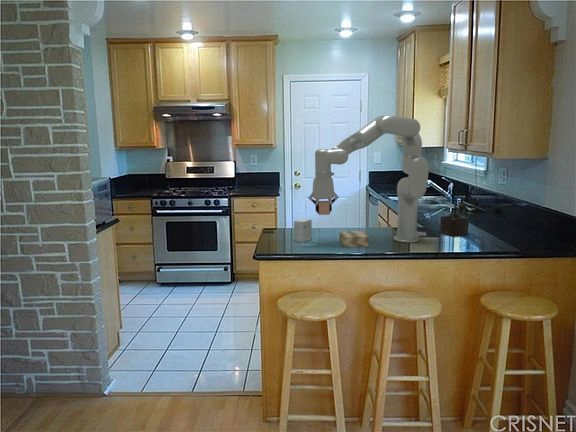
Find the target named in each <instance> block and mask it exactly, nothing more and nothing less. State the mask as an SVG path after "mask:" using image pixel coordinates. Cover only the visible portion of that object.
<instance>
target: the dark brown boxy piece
mask: <svg viewBox="0 0 576 432" xmlns="http://www.w3.org/2000/svg"><path fill="white" fill-rule="evenodd" d="M453 204H454V206H453V207H454V211H453V212H451V213H449V214H447V215H442V216H440V221H439V222H440V223H439V224H440V226H439V234H441V235H445V236H449V237H453V238H456V237H465V236H468V235H469V223H470V218H469V217H466V216H462V215H461V214H464V213H465V210H466V209H467V204H465V203H462V202H461V203H459V204H457V203H453ZM457 205H458V206H457ZM457 211H458V213H457ZM459 213H460V214H459Z"/></svg>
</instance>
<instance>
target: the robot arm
mask: <svg viewBox="0 0 576 432" xmlns="http://www.w3.org/2000/svg"><path fill="white" fill-rule="evenodd" d="M420 131H421V124H420V122H419V121H418V119H415V118H412V117H411V118H410V117H404V116H399V115H398V116H397V115H390V114H383V115H380V116H377V117H376V118H374V119H372V120H371V121H370V122H369V123H367V124H366V125H365V126H363V127H362V128H361V129H359V130H357V131H356V132H353V134H352V135H351V134H350V136H348V137H347V138H345V139H343V140H342V141H340V142H338V144H336V145H334V146H333V147H332V148H331V149H329V148H327V149H326V148H321V149H320V148H319V149H316V150H315V152H314V170H315V171H314V178H313V181H312V192H311V193H310V195H309V196H308V198H307V199H308V200H309V201H310V202H312V203H313V204H314V205H315V212H316V213H317V214H318V213H319V205H318V202H319V201H320V200H327V201H329V210H330V214H331V212H332V211H333V209H332V208H333V207H332V205H333V204H334V203H335V202H336V201H337V200H338V199H339V198H340V197H339V196H338V194H337V193H336V191H335V186H334V185H335V184H334V180H333V177H332V176H335V172H332V165H339V166H340V165H344V164H346V163H347V162H348V160H349V155H351V154H352V153H353V152H355V151H358V150H362V149H364V148H367V147H369V146H370V145H372V144H373V143H374V142H376V141H377V140H378V139H380V138H381V137H382V136H384V135H386V134H388V135H395V136H399V137H400V138H401V140H402V141H403V154H402V162H401V170H402V172H403V173H405V175H406V174H407V175H408V176H406V177H403V178H401V179H400V180H399V181H398V182H397V186H396V194H397V223H396V225H397V227H396V228H397V229H396V235H395V236H393V240H394V241H396V242H401V243H406V244H407V243H409V244H410V243H417V242H419V241H420V240H421V239H420V237H426V236H427V232H426V231H425V232H422V231H418V230H417V229H418V227H417V226H418V208H419V207H418V206H419V205H418V204H419V203H418V202H419V201H418V200H419V199H421V198H423V197H424V195H425V194H426V191H427V187H428V180H429V172H430V171H429V170H430V166H429V163H428V161H427V159H426V158H425V157H423V156H422V151H423V150H422V149H423V142H422V137H421V135H420Z"/></svg>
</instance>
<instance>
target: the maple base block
mask: <svg viewBox="0 0 576 432" xmlns="http://www.w3.org/2000/svg"><path fill="white" fill-rule="evenodd" d="M369 237H370V236H369V235H368V234H367V233H366V232H365V231H364V230H356V231H355V230H353V231H349V230H347V231H346V230H345V231H344V230H343V231H339V243H340V244H341V246H342V247H343V248H368V247H369V246H370V244H369V240H370V239H369Z"/></svg>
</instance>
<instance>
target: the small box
mask: <svg viewBox="0 0 576 432" xmlns="http://www.w3.org/2000/svg"><path fill="white" fill-rule="evenodd" d="M312 225H313V223H312V219H311V218H310V219H309V218H304V217H302V218H299V219H295V220H293V232H294V233H293V234H294V235H293V237H294V238H293V239H294V241H295V242H299V243H304V242H308V241H310V240H312V237H313V236H312V235H313V234H312V233H313V230H312V229H313V228H312V227H313V226H312Z"/></svg>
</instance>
